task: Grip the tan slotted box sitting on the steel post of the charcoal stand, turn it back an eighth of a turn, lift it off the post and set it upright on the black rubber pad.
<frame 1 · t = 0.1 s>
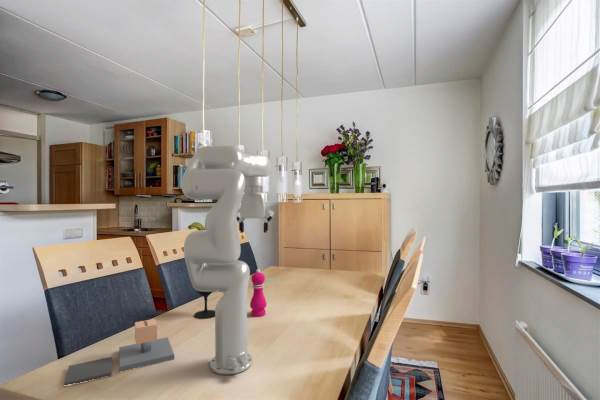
hand: (253, 232, 129), 37 cm above the table, tool pointing down, fingers open, 9 cm apart
wine glass: (205, 315, 139), on the table
post: (145, 338, 102), on the stand, point 6 cm above the table
pad: (89, 372, 92), on the table
tan slotted box: (146, 338, 102), point 5 cm above the table, touching post
stand: (146, 355, 102), on the table
pepper mill: (258, 314, 139), on the table
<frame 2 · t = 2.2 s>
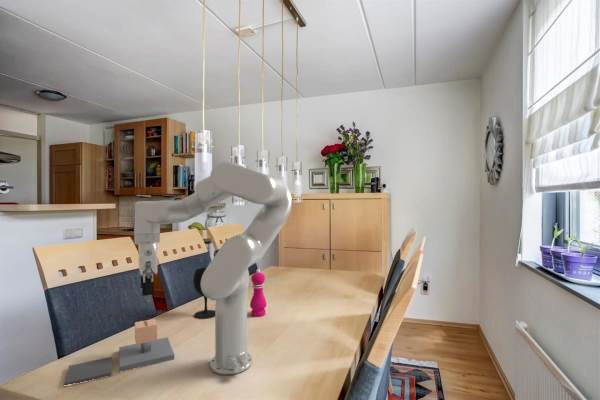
hand: (146, 291, 102), 21 cm above the table, tool pointing down, fingers open, 9 cm apart
nothing on the table moved.
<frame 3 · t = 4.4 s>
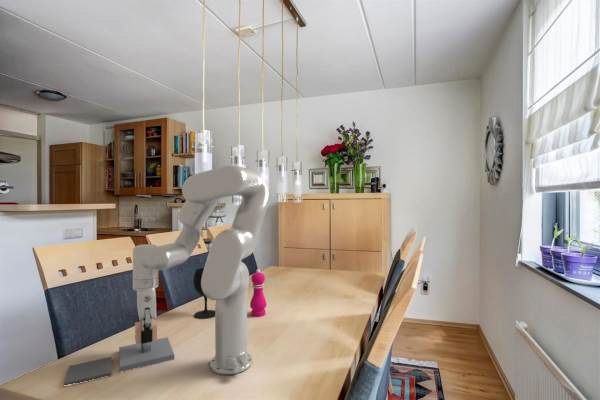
hand: (145, 338, 102), 6 cm above the table, tool pointing down, fingers closed on tan slotted box, 5 cm apart
tan slotted box: (145, 338, 102), point 5 cm above the table, touching gripper, post
everything else where it was.
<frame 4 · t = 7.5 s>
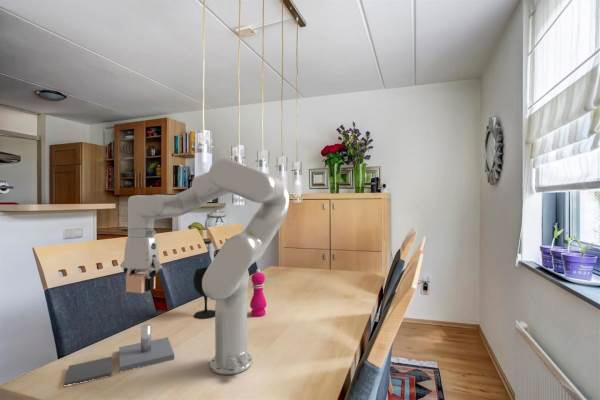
hand: (140, 289, 101), 22 cm above the table, tool pointing down, fingers closed on tan slotted box, 5 cm apart
tan slotted box: (140, 289, 101), point 21 cm above the table, touching gripper
everything else where it was.
when the fingers open (3 cm above the table, at t = 11.1 s): tan slotted box drops 2 cm, resting on pad.
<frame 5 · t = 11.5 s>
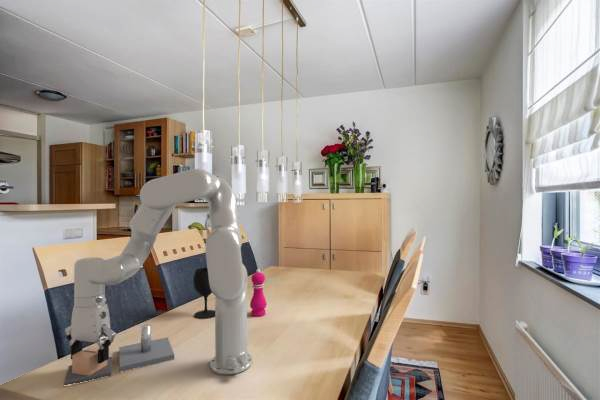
hand: (89, 359, 92), 4 cm above the table, tool pointing down, fingers open, 9 cm apart
tan slotted box: (90, 368, 92), point 1 cm above the table, touching pad
everything else where it was.
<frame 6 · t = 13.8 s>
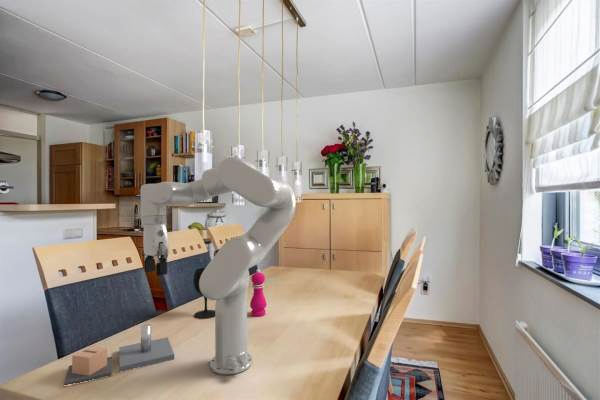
hand: (155, 273, 104), 26 cm above the table, tool pointing down, fingers open, 9 cm apart
nothing on the table moved.
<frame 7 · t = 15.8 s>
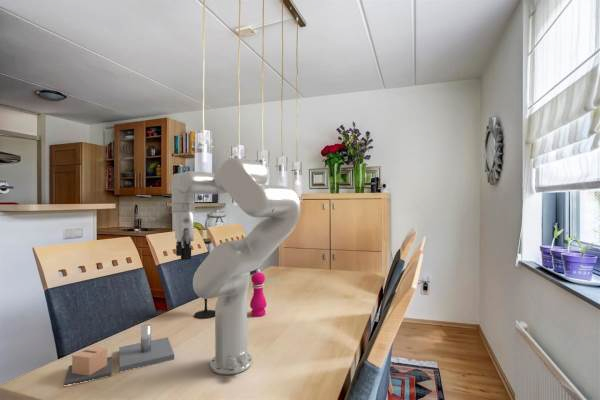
hand: (183, 257, 110), 30 cm above the table, tool pointing down, fingers open, 9 cm apart
nothing on the table moved.
at the end: tan slotted box 0.1 cm off-centre on the pad, point 1.0 cm above the pad's base; tan slotted box tilted 0°; the gripper is holding nothing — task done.
